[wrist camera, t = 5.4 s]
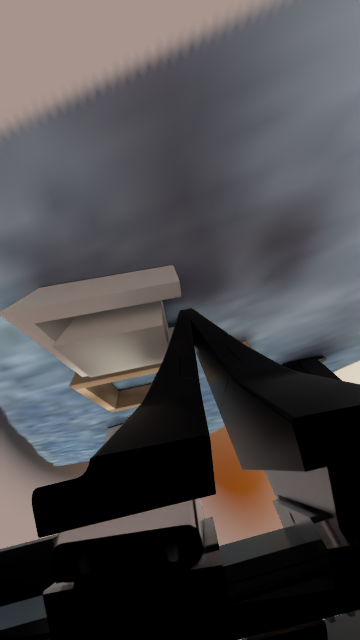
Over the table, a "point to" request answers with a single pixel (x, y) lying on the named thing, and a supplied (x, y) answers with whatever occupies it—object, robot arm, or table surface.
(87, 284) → the clip
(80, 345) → the block
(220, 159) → the table surface
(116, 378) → the holder
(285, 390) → the robot arm
